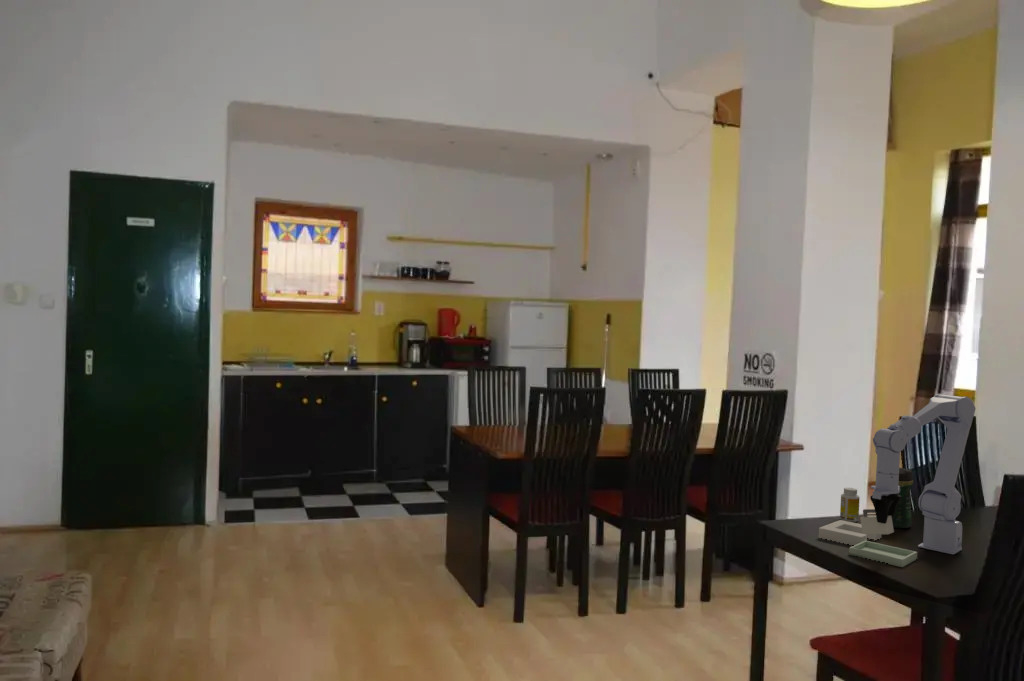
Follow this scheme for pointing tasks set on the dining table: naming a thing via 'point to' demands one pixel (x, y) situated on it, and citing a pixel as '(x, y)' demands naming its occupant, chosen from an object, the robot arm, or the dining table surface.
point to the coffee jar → (903, 500)
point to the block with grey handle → (875, 524)
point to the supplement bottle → (849, 505)
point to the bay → (845, 533)
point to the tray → (883, 553)
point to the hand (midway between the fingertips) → (884, 521)
